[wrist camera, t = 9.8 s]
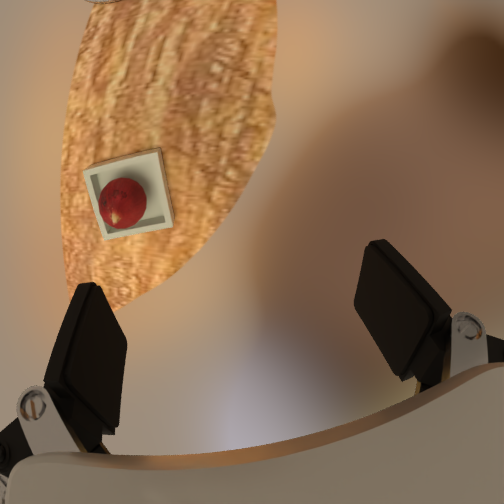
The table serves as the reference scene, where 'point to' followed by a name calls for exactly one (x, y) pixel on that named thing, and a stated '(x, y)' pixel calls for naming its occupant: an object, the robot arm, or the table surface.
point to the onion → (122, 203)
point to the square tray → (148, 176)
